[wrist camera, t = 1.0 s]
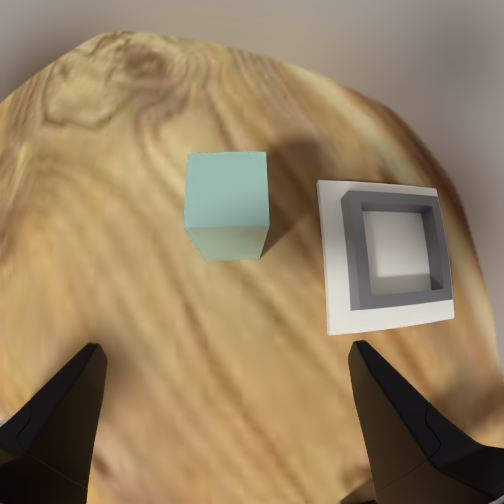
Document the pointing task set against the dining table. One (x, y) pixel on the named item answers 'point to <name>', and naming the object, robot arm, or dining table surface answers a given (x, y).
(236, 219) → the teal green block
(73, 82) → the dining table surface
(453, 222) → the dining table surface
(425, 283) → the white grey square base
